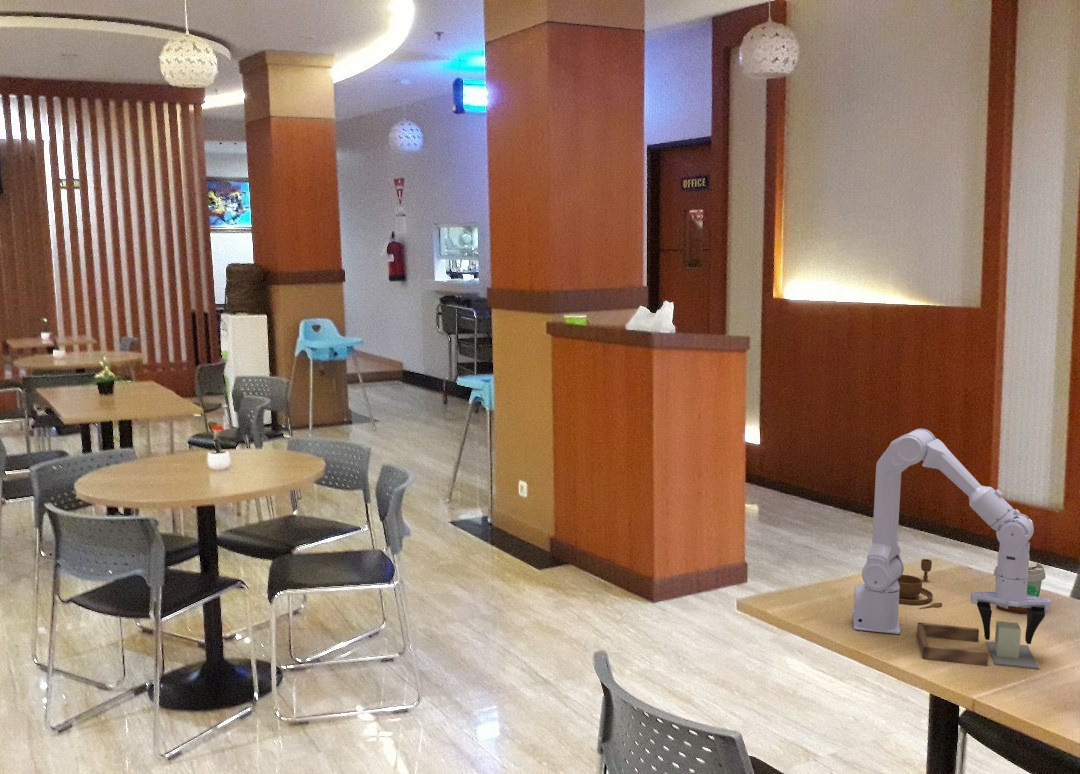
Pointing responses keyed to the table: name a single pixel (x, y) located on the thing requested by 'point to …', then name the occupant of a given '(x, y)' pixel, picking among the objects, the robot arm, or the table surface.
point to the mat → (1023, 661)
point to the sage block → (1007, 639)
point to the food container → (1033, 588)
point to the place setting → (916, 587)
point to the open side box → (950, 653)
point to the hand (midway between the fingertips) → (1007, 640)
